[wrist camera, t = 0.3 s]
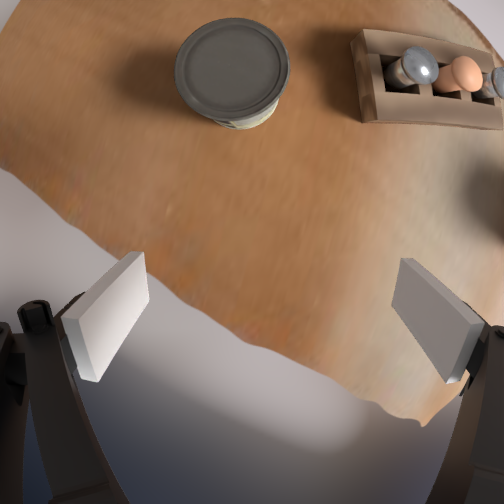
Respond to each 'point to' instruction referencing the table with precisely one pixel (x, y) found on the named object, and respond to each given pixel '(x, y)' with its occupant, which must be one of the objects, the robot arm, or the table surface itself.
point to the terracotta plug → (459, 76)
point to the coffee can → (232, 72)
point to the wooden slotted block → (418, 96)
